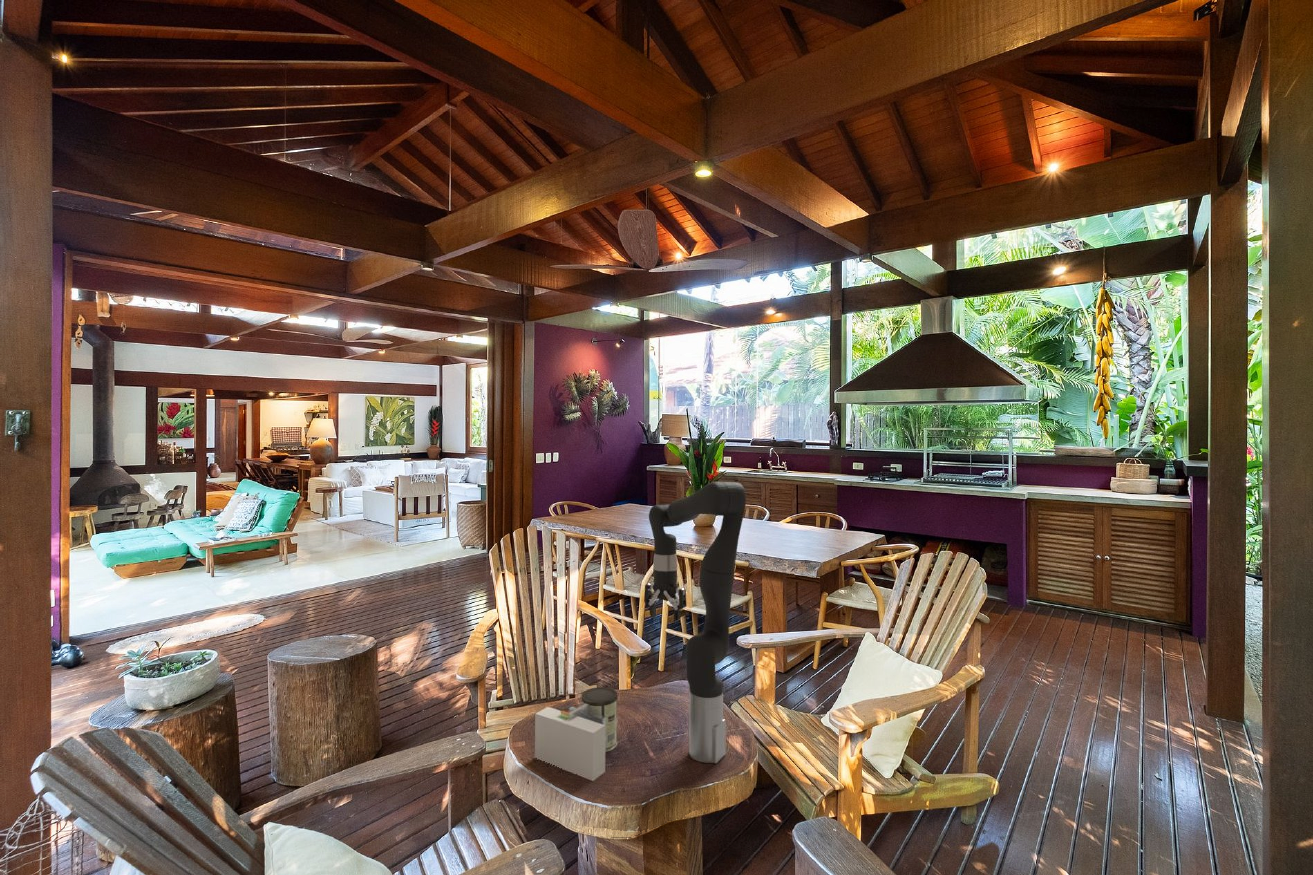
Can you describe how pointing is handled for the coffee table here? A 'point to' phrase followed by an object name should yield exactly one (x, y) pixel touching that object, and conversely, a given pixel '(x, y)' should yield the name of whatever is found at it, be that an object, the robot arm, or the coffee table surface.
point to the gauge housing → (570, 743)
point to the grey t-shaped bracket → (586, 715)
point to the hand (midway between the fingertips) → (664, 619)
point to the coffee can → (604, 710)
